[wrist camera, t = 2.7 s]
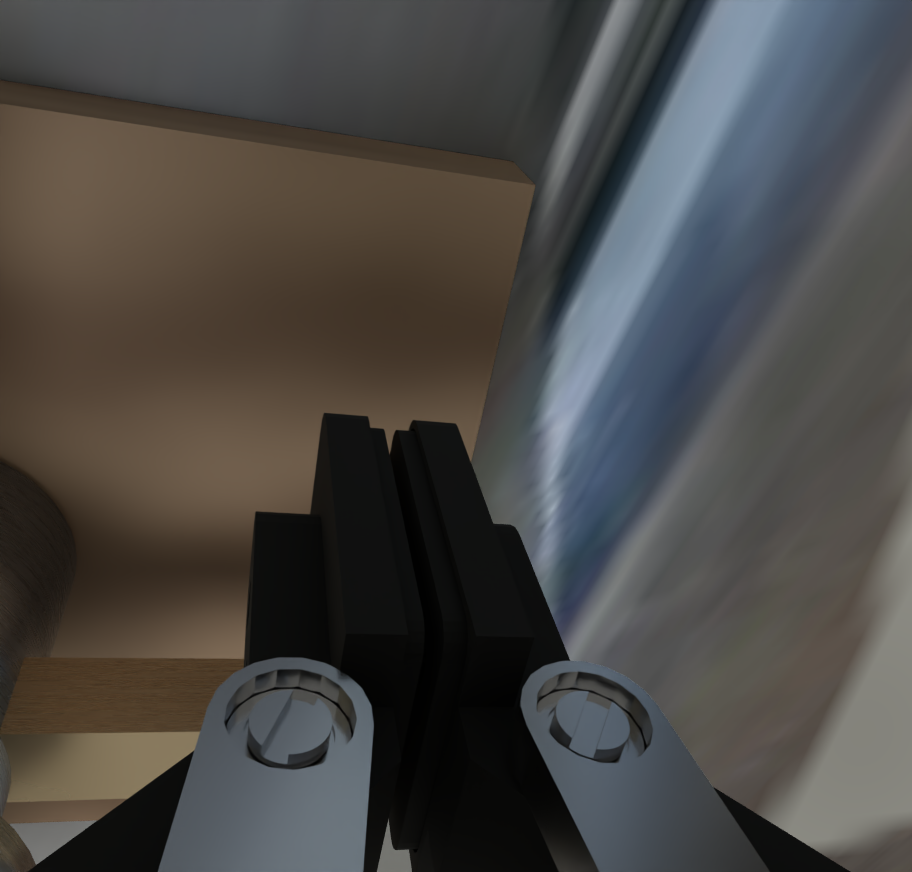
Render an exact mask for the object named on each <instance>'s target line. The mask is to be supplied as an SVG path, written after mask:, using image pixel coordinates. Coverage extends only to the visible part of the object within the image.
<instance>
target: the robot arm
mask: <svg viewBox="0 0 912 872" xmlns="http://www.w3.org/2000/svg"><path fill="white" fill-rule="evenodd" d="M388 818H389V825H390V833H391V840H392V845H393V848H394V849H395V850H406V849H409V853H410V860H411V867H412V872H850V871H848V870H847V869H845V868H843V867H842V866H840V865H839V864H837V863H835V862H834V861H832V860H830V859H829V858H827V857H826V856H824V855H822V854H821V853H819V852H818V851H816V850H814V849H813V848H811V847H809V846H808V845H806V844H805V843H803V842H801V841H800V840H798V839H796V838H795V837H793V836H792V835H790V834H788V833H787V832H785V831H784V830H782V829H780V828H779V827H777V826H775V825H774V824H772V823H771V822H769V821H767V820H766V819H764V818H762V817H761V816H759V815H758V814H756V813H754V812H753V811H751V810H750V809H748V808H746V807H745V806H743V805H741V804H740V803H738V802H737V801H735V800H733V799H732V798H730V797H728V796H727V795H725V794H724V793H722V792H720V791H719V790H717V789H716V788H714V787H713V786H712V785H711V783H710V782H709V780H708V779H707V778H706V776H705V775H704V773H703V772H702V770H701V769H700V767H699V766H698V764H697V763H696V761H695V760H694V758H693V757H692V755H691V754H690V752H689V751H688V749H687V748H686V746H685V745H684V743H683V742H682V740H681V739H680V737H679V736H678V734H677V733H676V732H675V730H674V729H673V727H672V726H671V724H670V723H669V721H668V720H667V718H666V717H665V715H664V714H663V712H662V711H661V709H660V708H659V706H658V705H657V704H656V703H655V702H654V700H653V699H652V698H651V697H650V696H649V695H648V694H647V692H646V691H645V690H644V689H642V688H641V687H640V686H638V685H637V684H636V683H634V682H633V681H632V680H630V679H629V678H628V677H626V676H624V675H622V674H620V673H618V672H616V671H614V670H612V669H609V668H607V667H605V666H601V665H597V664H593V663H589V662H585V661H570V659H569V657H568V654H567V652H566V649H565V647H564V644H563V642H562V639H561V637H560V634H559V632H558V629H557V627H556V624H555V622H554V619H553V617H552V614H551V612H550V610H549V607H548V605H547V602H546V600H545V597H544V595H543V592H542V590H541V587H540V585H539V582H538V580H537V577H536V575H535V572H534V570H533V567H532V565H531V562H530V560H529V557H528V555H527V552H526V550H525V547H524V545H523V542H522V540H521V537H520V535H519V533H518V531H517V530H516V528H515V527H514V526H512V525H506V524H493V522H492V519H491V516H490V514H489V511H488V508H487V505H486V503H485V500H484V497H483V494H482V492H481V489H480V486H479V483H478V481H477V478H476V475H475V473H474V470H473V467H472V464H471V462H470V459H469V456H468V453H467V451H466V448H465V445H464V442H463V440H462V437H461V434H460V431H459V429H458V426H457V425H456V423H445V422H433V421H420V420H413V421H412V422H411V424H410V427H409V430H408V431H406V430H396V431H395V432H394V435H393V440H392V445H391V451H390V454H389V449H388V445H387V440H386V435H385V431H384V429H381V428H370V422H369V418H368V416H359V415H346V414H334V413H324V414H323V418H322V423H321V430H320V438H319V446H318V454H317V462H316V470H315V478H314V486H313V494H312V502H311V510H310V514H296V513H277V512H258V511H256V512H255V519H254V529H253V540H252V551H251V563H250V575H249V587H248V601H247V615H246V632H245V650H244V668H243V669H241V670H239V671H237V672H235V673H233V674H232V675H231V676H230V677H229V678H228V679H227V680H226V681H225V682H224V683H222V684H221V685H220V686H219V687H218V688H217V690H216V692H215V694H214V696H213V697H212V699H211V701H210V703H209V705H208V707H207V711H206V714H205V717H204V720H203V724H202V727H201V730H200V734H199V737H198V740H197V744H196V747H195V750H194V751H193V752H191V753H190V754H189V755H187V756H186V757H184V758H183V759H182V760H180V761H179V762H178V763H176V764H175V765H173V766H172V767H171V768H169V769H168V770H166V771H165V772H164V773H162V774H161V775H160V776H158V777H157V778H155V779H154V780H153V781H151V782H150V783H149V784H147V785H146V786H144V787H143V788H142V789H140V790H139V791H138V792H136V793H135V794H133V795H132V796H131V797H129V798H128V799H127V800H125V801H124V802H122V803H121V804H120V805H118V806H117V807H116V808H114V809H113V810H111V811H110V812H109V813H107V814H106V815H105V816H103V817H102V818H100V819H99V820H98V821H96V822H95V823H94V824H92V825H91V826H89V827H88V828H87V829H85V830H84V831H83V832H81V833H80V834H78V835H77V836H76V837H74V838H73V839H72V840H70V841H69V842H67V843H66V844H65V845H63V846H62V847H61V848H59V849H58V850H56V851H55V852H54V853H52V854H51V855H49V856H48V857H47V858H45V859H44V860H43V861H41V862H40V863H38V864H37V865H36V866H34V867H33V868H32V869H30V870H29V871H27V872H377V868H378V863H379V859H380V854H381V850H382V845H383V841H384V836H385V832H386V827H387V823H388Z"/></svg>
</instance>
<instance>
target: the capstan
mask: <svg viewBox="0 0 912 872" xmlns="http://www.w3.org/2000/svg"><path fill="white" fill-rule="evenodd" d="M76 565H77V554H76V546H75V542H74V538H73V535H72V532H71V529H70V527H69V525H68V523H67V521H66V519H65V517H64V516H63V514H62V513H61V511H60V510H59V508H58V507H57V505H56V504H55V503H54V502H53V501H52V500H51V498H50V497H49V496H48V495H47V494H46V493H45V492H44V491H43V490H42V489H41V488H40V487H38V486H37V485H36V484H35V483H34V482H33V481H32V480H30V479H29V478H27V477H26V476H24V475H23V474H22V473H20V472H19V471H17V470H16V469H14V468H12V467H10V466H8V465H7V464H5V463H3V462H1V461H0V872H27V871H29V870H30V869H32V868H33V867H34V866H36V864H35V862H34V860H33V858H32V855H31V853H30V851H29V849H28V848H27V847H26V845H25V844H24V842H23V841H22V840H21V838H20V837H19V835H18V834H17V832H16V831H15V830H14V829H13V828H12V827H11V826H10V825H9V824H8V823H7V822H6V821H5V820H4V819H3V818H2V815H3V812H4V809H5V806H6V802H36V801H67V800H98V799H128V798H129V797H131V796H132V795H133V794H135V793H136V792H138V791H139V790H140V789H142V788H143V787H144V786H146V785H147V784H149V783H150V782H151V781H153V780H154V779H155V778H157V777H158V776H160V775H161V774H162V773H164V772H165V771H166V770H168V769H169V768H171V767H172V766H173V765H175V764H176V763H178V762H179V761H180V760H182V759H183V758H184V757H186V756H187V755H189V754H190V753H191V752H193V751H194V750H195V747H196V744H197V740H198V737H199V734H200V730H201V727H202V724H203V720H204V717H205V714H206V711H207V707H208V705H209V703H210V701H211V699H212V697H213V696H214V694H215V692H216V690H217V688H218V687H219V686H220V685H221V684H222V683H224V682H225V681H226V680H227V679H228V678H229V677H230V676H231V675H232V674H233V673H235V672H237V671H239V670H241V669H243V668H244V659H206V658H52V657H51V654H52V651H53V648H54V644H55V641H56V638H57V634H58V631H59V628H60V625H61V621H62V618H63V615H64V611H65V608H66V605H67V601H68V598H69V595H70V592H71V588H72V585H73V581H74V577H75V573H76Z"/></svg>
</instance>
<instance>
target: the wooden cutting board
mask: <svg viewBox="0 0 912 872" xmlns="http://www.w3.org/2000/svg"><path fill="white" fill-rule="evenodd" d="M535 186H536V185H535V184H534V183H533V182H532V181H531V180H530V179H529V178H528V177H527V176H526V175H525V174H524V173H523V172H522V170H521V169H520V168H519V167H518V166H517V165H516V164H515V163H514V162H513V161H507V160H500V159H494V158H488V157H481V156H475V155H469V154H463V153H456V152H450V151H444V150H437V149H431V148H425V147H419V146H412V145H406V144H400V143H393V142H387V141H381V140H374V139H368V138H362V137H356V136H349V135H343V134H337V133H330V132H324V131H318V130H312V129H305V128H299V127H293V126H286V125H280V124H274V123H268V122H261V121H255V120H249V119H242V118H236V117H230V116H224V115H217V114H211V113H205V112H198V111H192V110H186V109H179V108H173V107H167V106H161V105H154V104H148V103H142V102H135V101H129V100H123V99H117V98H110V97H104V96H98V95H91V94H85V93H79V92H73V91H66V90H60V89H54V88H47V87H41V86H35V85H28V84H22V83H16V82H10V81H3V80H0V461H1V462H3V463H5V464H7V465H8V466H10V467H12V468H14V469H16V470H17V471H19V472H20V473H22V474H23V475H24V476H26V477H27V478H29V479H30V480H32V481H33V482H34V483H35V484H36V485H37V486H38V487H40V488H41V489H42V490H43V491H44V492H45V493H46V494H47V495H48V496H49V497H50V498H51V500H52V501H53V502H54V503H55V504H56V505H57V507H58V508H59V510H60V511H61V513H62V514H63V516H64V517H65V519H66V521H67V523H68V525H69V527H70V529H71V532H72V535H73V538H74V542H75V546H76V554H77V565H76V573H75V577H74V581H73V585H72V588H71V592H70V595H69V598H68V601H67V605H66V608H65V611H64V615H63V618H62V621H61V625H60V628H59V631H58V634H57V638H56V641H55V644H54V648H53V651H52V654H51V657H52V658H206V659H244V650H245V632H246V615H247V601H248V587H249V575H250V563H251V551H252V540H253V529H254V519H255V512H256V511H258V512H277V513H296V514H310V510H311V502H312V494H313V486H314V478H315V470H316V462H317V454H318V446H319V438H320V430H321V423H322V418H323V414H324V413H334V414H346V415H359V416H368V418H369V422H370V428H381V429H384V431H385V435H386V440H387V445H388V449H389V454H390V451H391V445H392V440H393V435H394V432H395V431H396V430H406V431H408V430H409V427H410V424H411V422H412V421H413V420H420V421H433V422H445V423H456V425H457V426H458V429H459V431H460V434H461V437H462V440H463V442H464V445H465V448H466V451H467V453H468V456H469V459H470V462H471V460H472V456H473V452H474V447H475V443H476V439H477V435H478V430H479V426H480V422H481V417H482V413H483V409H484V405H485V400H486V396H487V392H488V387H489V383H490V379H491V375H492V370H493V366H494V362H495V357H496V353H497V349H498V344H499V340H500V336H501V332H502V327H503V323H504V319H505V314H506V310H507V306H508V302H509V297H510V293H511V289H512V284H513V280H514V276H515V272H516V267H517V263H518V259H519V254H520V250H521V246H522V242H523V237H524V233H525V229H526V224H527V220H528V216H529V211H530V207H531V203H532V199H533V194H534V190H535ZM125 800H127V799H98V800H67V801H36V802H6V806H5V809H4V812H3V815H2V818H3V819H4V820H5V821H6V822H7V823H8V824H10V823H37V822H63V821H90V820H99V819H100V818H102V817H103V816H105V815H106V814H107V813H109V812H110V811H111V810H113V809H114V808H116V807H117V806H118V805H120V804H121V803H122V802H124V801H125Z"/></svg>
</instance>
